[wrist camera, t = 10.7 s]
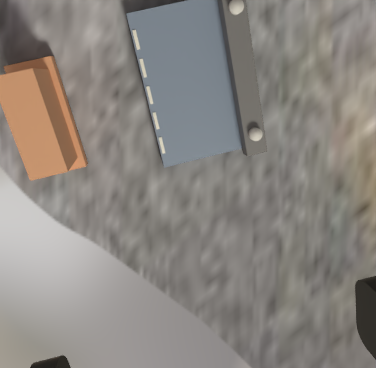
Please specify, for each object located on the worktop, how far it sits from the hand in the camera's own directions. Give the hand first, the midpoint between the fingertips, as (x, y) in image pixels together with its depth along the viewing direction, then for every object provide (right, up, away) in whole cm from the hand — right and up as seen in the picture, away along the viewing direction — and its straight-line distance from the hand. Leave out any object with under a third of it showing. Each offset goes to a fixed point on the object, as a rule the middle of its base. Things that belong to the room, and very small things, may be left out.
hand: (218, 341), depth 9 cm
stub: (-14, +11, +23) cm, 29 cm away
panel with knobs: (0, +14, +24) cm, 28 cm away
